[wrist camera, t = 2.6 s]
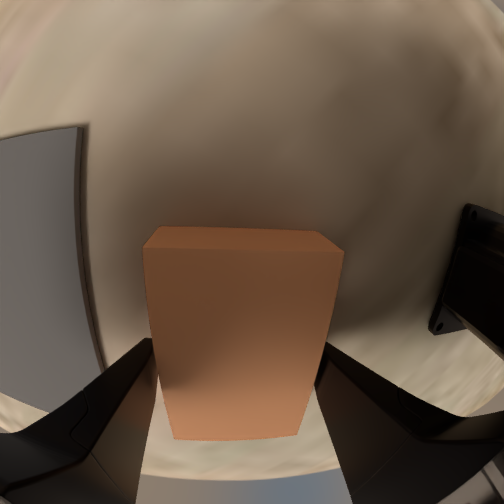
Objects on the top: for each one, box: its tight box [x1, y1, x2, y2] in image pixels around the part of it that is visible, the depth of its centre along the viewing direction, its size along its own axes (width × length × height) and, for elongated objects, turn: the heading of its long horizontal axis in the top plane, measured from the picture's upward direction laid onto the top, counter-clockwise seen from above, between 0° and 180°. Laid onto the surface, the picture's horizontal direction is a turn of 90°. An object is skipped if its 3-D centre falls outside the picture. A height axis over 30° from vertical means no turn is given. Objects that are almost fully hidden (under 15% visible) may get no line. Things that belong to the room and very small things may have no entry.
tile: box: [142, 226, 345, 441], centre depth 9 cm, size 5×8×2 cm, turn 176°
